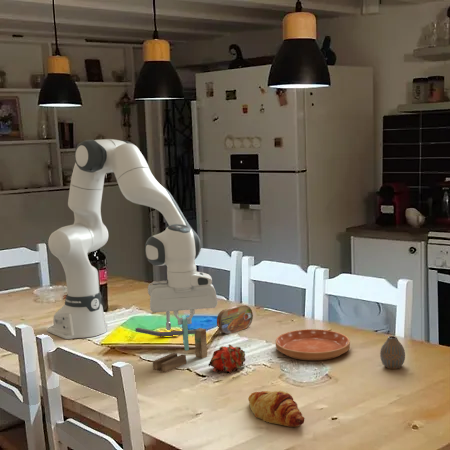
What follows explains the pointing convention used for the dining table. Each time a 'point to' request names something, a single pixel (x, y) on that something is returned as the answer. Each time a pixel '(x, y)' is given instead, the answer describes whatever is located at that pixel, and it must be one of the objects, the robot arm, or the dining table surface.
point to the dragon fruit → (227, 359)
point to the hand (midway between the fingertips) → (184, 323)
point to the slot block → (169, 362)
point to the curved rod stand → (199, 334)
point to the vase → (392, 353)
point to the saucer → (312, 344)
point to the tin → (234, 319)
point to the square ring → (185, 333)
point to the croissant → (276, 408)
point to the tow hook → (168, 320)
